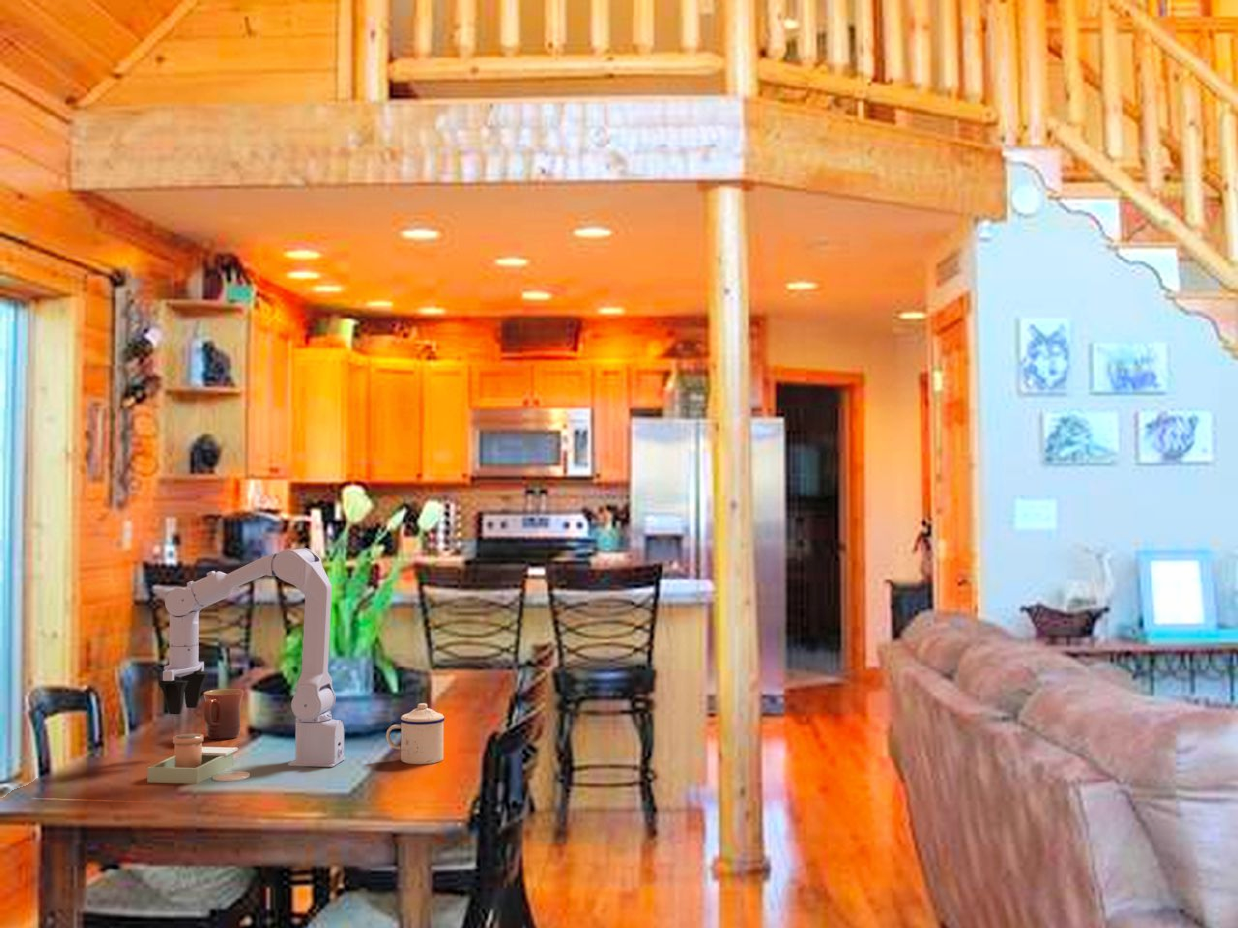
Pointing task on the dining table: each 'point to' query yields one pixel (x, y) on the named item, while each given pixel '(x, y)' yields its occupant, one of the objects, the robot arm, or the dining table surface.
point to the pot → (188, 750)
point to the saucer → (230, 776)
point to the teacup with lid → (420, 736)
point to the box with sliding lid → (211, 764)
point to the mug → (222, 713)
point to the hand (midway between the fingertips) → (183, 710)
